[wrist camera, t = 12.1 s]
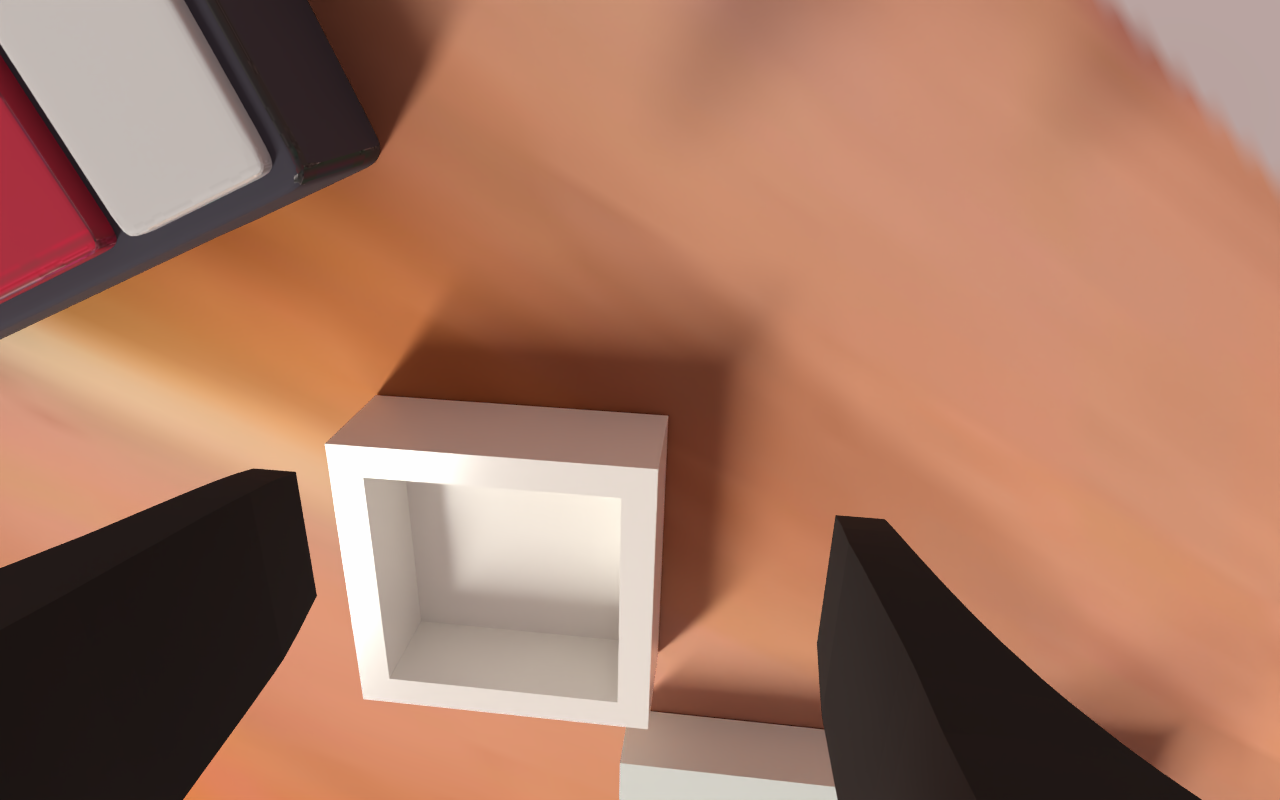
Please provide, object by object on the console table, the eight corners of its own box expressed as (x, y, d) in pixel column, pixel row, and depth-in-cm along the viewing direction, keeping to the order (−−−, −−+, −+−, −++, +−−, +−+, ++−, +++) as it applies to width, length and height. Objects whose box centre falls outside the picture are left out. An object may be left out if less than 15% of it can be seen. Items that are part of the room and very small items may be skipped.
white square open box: (668, 415, 20) (658, 469, 17) (658, 654, 23) (647, 729, 21) (375, 395, 21) (325, 444, 18) (403, 629, 24) (363, 698, 21)
